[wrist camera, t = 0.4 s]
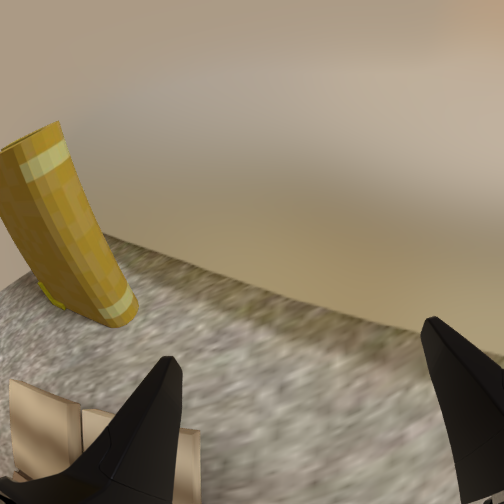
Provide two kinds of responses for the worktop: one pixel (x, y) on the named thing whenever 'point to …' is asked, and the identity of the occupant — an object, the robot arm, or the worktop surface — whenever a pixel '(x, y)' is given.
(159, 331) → the worktop surface
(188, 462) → the oak plank right
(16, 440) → the oak plank left
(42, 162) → the book
